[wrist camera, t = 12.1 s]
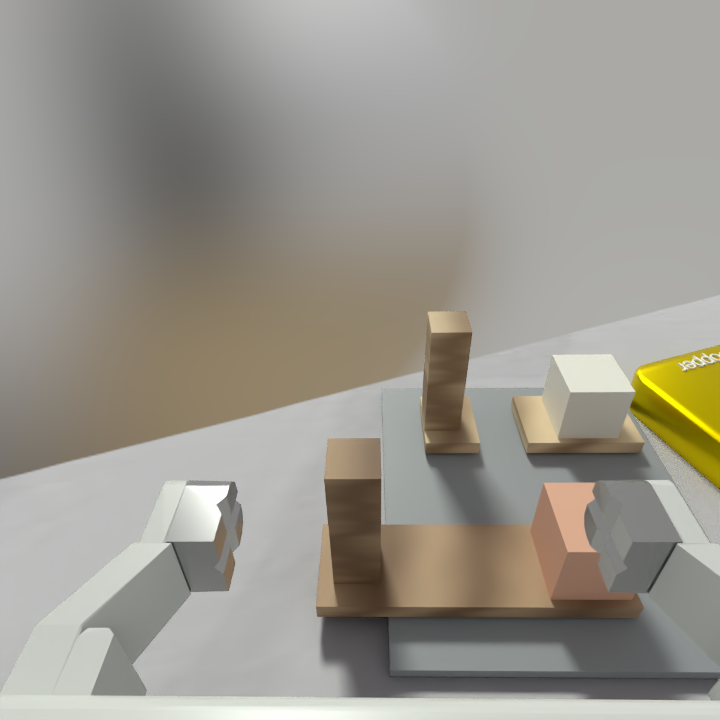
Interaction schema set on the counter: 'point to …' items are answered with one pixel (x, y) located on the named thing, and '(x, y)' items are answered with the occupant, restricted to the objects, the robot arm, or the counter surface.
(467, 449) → the broken oak strip
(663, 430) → the element tile
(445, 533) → the wooden l-shaped stand
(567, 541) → the terracotta block
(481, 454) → the slate board
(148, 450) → the counter surface
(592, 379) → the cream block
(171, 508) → the robot arm
